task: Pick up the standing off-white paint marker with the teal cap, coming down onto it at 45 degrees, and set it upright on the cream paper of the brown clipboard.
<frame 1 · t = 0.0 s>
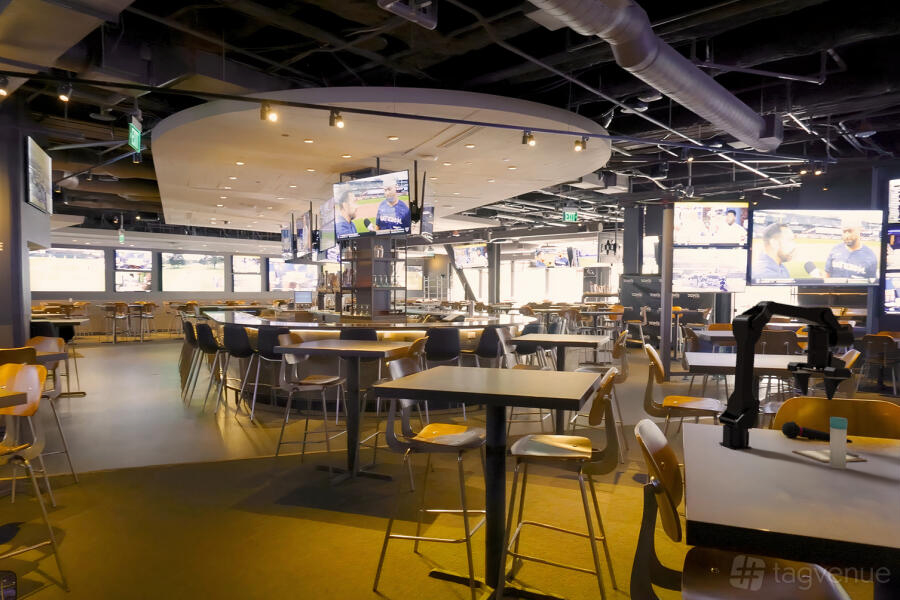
hand: (817, 397, 176), 15 cm above the table, tool pointing down, fingers open, 9 cm apart
microphone: (816, 441, 183), on the table
clipboard: (828, 456, 162), on the table
marker: (837, 467, 151), on the table
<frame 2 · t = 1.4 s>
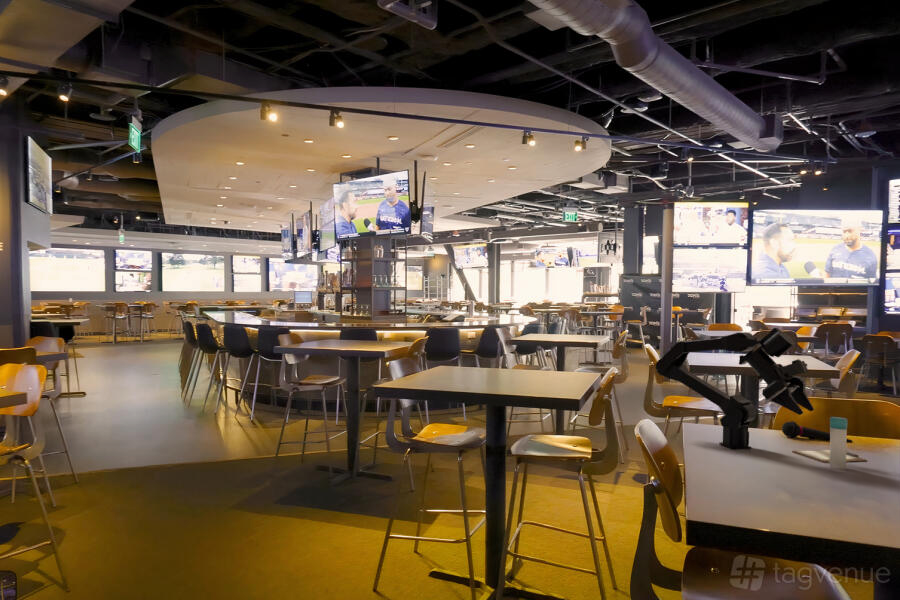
hand: (807, 412, 157), 13 cm above the table, tool tilted 45°, fingers open, 9 cm apart
nothing on the table moved.
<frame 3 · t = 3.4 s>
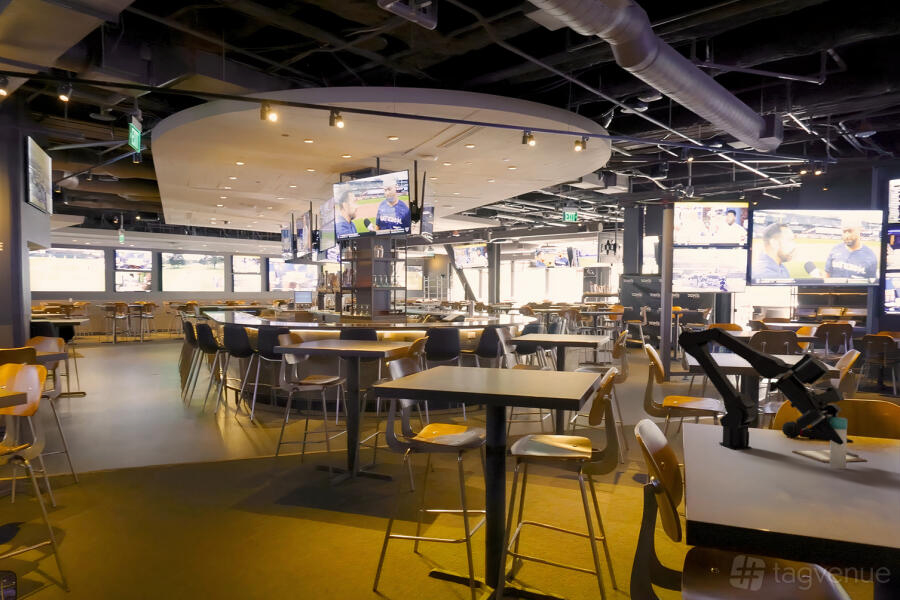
hand: (844, 442, 150), 7 cm above the table, tool tilted 45°, fingers closed on marker, 4 cm apart
marker: (837, 467, 151), on the table, touching gripper
everything else where it was.
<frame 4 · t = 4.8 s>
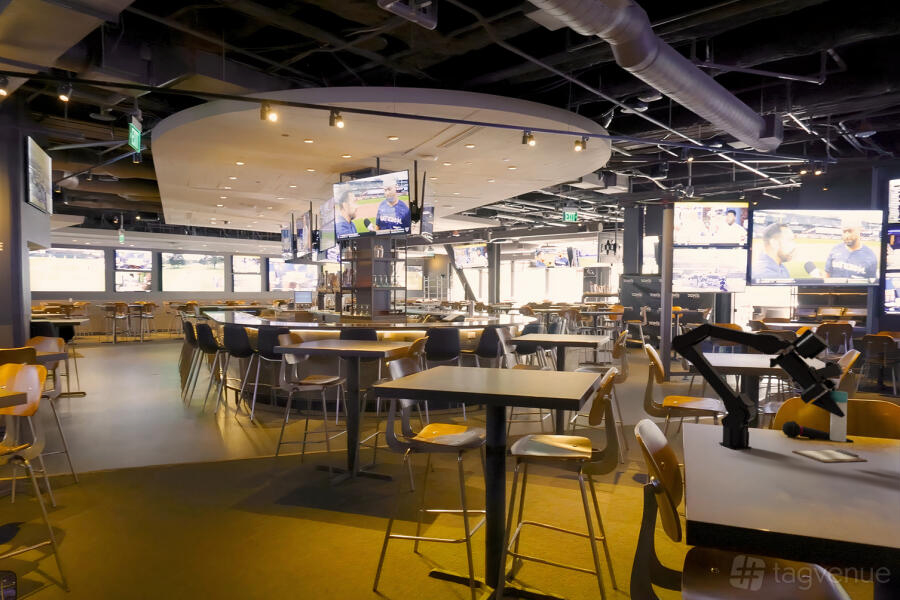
hand: (844, 415, 153), 13 cm above the table, tool tilted 45°, fingers closed on marker, 4 cm apart
marker: (837, 440, 153), point 7 cm above the table, touching gripper
everything else where it was.
when the fingers open (8 cm above the table, at t = 6.5 s): marker stays where it is, resting on clipboard.
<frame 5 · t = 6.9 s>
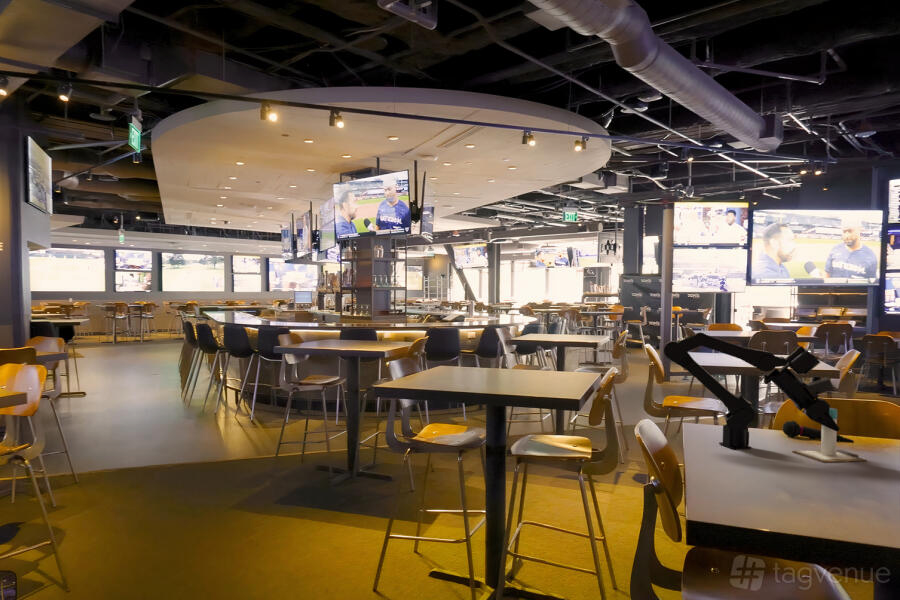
hand: (834, 427, 161), 8 cm above the table, tool tilted 45°, fingers open, 7 cm apart
marker: (828, 454, 162), point 1 cm above the table, touching clipboard
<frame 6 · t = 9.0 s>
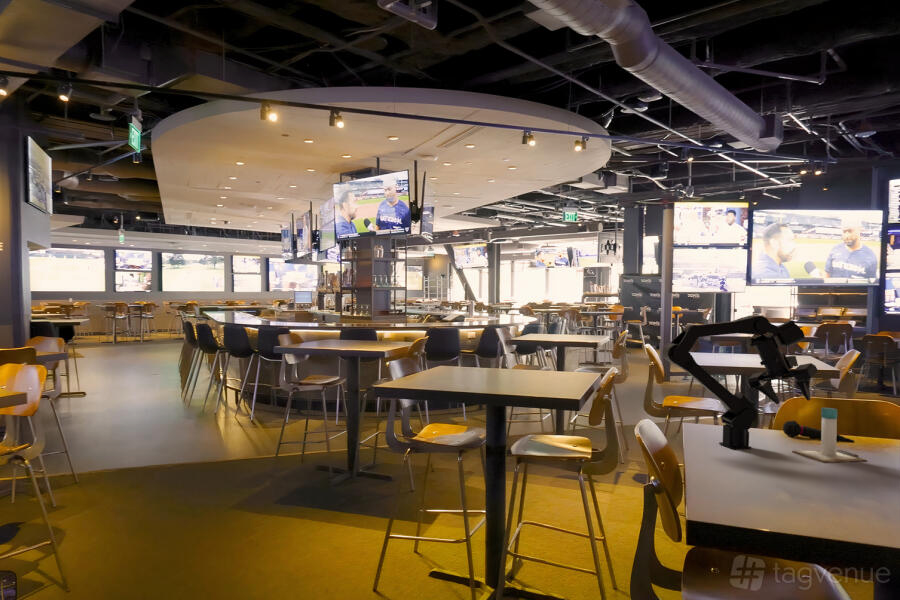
hand: (793, 402, 170), 14 cm above the table, tool tilted 25°, fingers open, 9 cm apart
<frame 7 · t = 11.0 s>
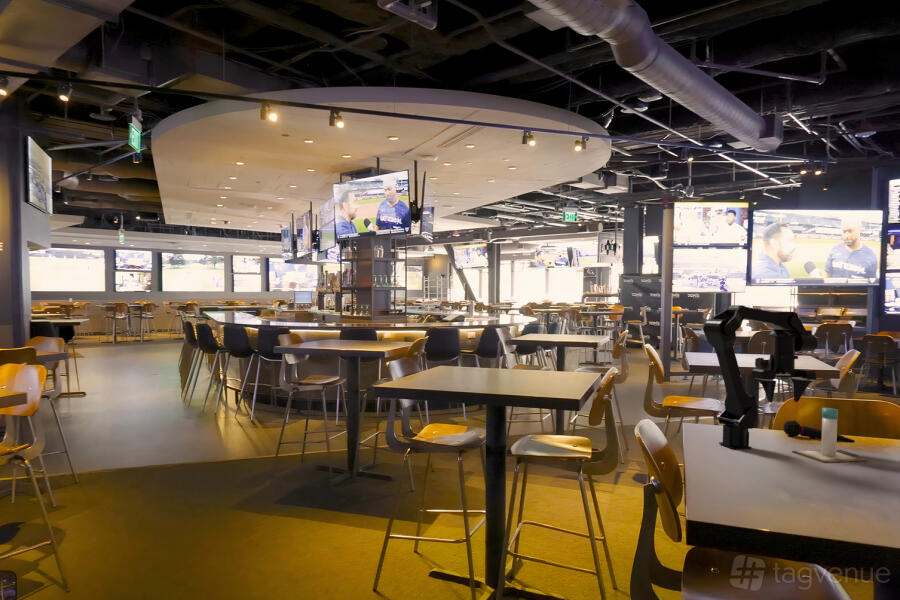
hand: (783, 402, 176), 13 cm above the table, tool pointing down, fingers open, 9 cm apart
at the end: marker inside the target area on the clipboard (0.0 cm from its centre), point 0.6 cm above the clipboard's base; marker tilted 0°; the gripper is holding nothing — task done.
